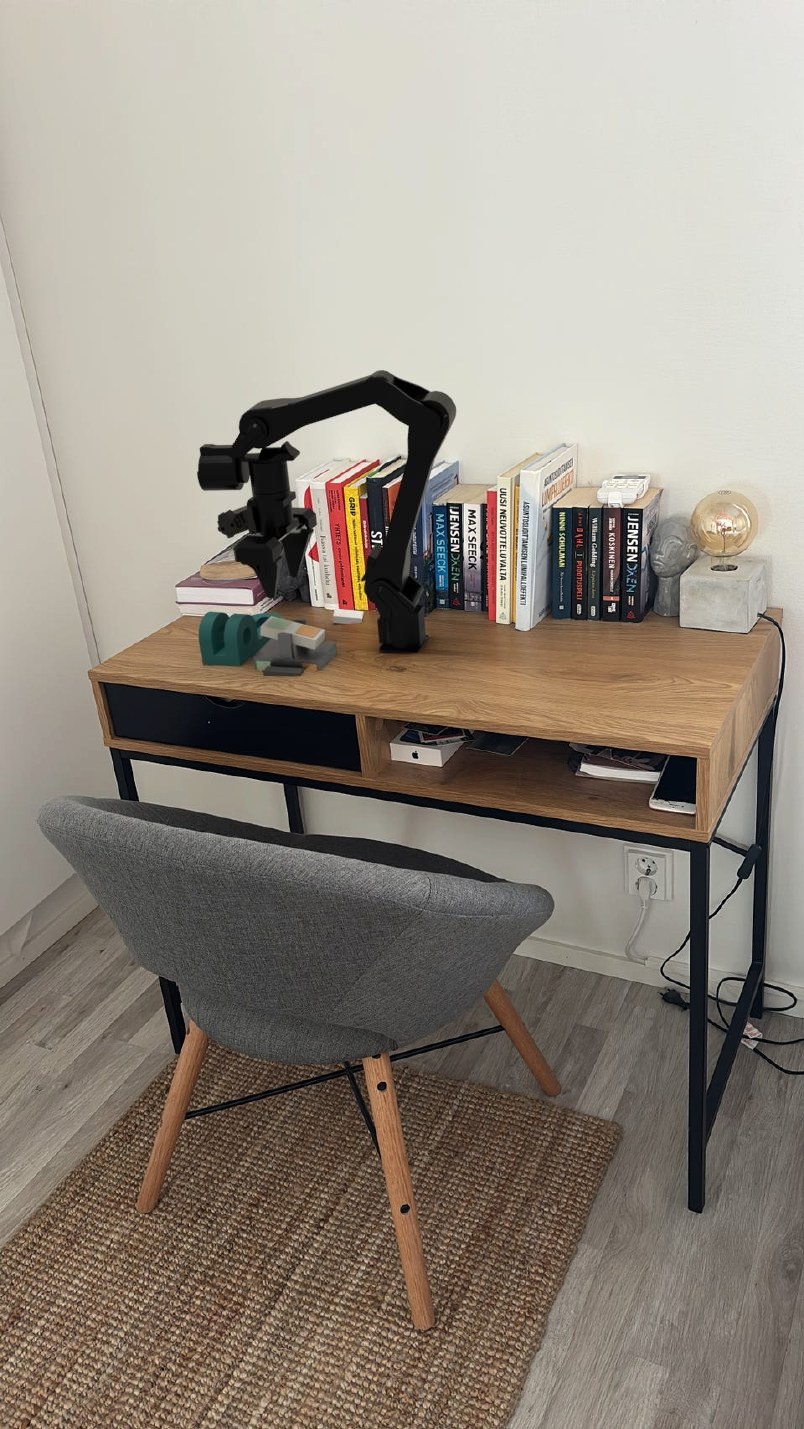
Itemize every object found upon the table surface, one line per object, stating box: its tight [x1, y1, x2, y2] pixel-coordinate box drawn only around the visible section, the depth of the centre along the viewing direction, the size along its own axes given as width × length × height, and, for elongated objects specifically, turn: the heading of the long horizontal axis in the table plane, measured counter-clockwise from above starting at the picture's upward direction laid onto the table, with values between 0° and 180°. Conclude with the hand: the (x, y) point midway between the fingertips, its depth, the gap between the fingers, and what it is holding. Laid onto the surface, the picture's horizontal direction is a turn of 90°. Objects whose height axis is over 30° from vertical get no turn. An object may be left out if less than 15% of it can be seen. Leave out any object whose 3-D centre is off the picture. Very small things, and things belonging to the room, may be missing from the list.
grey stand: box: [252, 617, 338, 672], centre depth 178 cm, size 11×7×7 cm, turn 72°
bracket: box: [198, 611, 283, 667], centre depth 187 cm, size 18×7×8 cm, turn 159°
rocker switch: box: [260, 616, 326, 650], centre depth 177 cm, size 9×5×2 cm, turn 72°
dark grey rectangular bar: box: [262, 666, 305, 677], centre depth 175 cm, size 6×2×2 cm, turn 73°
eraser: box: [332, 608, 364, 625], centre depth 195 cm, size 1×5×4 cm
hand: (283, 587), depth 180 cm, fingers open, 9 cm apart
